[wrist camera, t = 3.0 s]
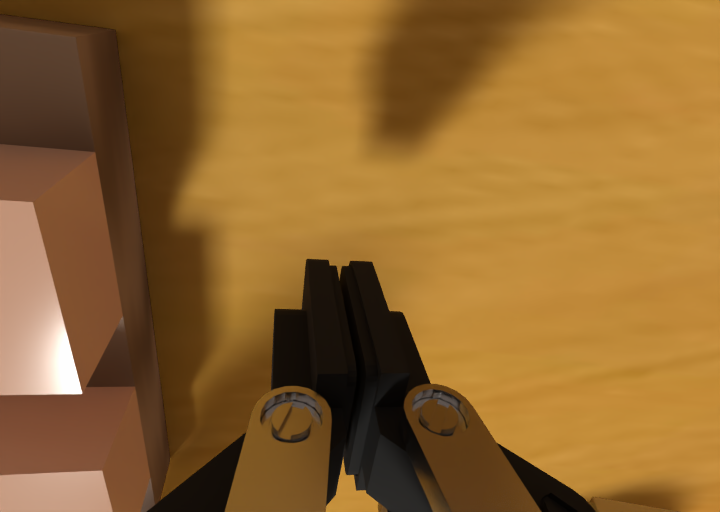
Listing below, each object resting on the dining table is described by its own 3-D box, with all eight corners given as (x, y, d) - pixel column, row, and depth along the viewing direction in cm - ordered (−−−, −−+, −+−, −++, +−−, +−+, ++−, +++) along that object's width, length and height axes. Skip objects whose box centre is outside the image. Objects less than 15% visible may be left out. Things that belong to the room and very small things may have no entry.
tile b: (-39, 388, 13) (-116, 480, 11) (134, 386, 14) (102, 470, 12) (4, 484, 16) (-50, 577, 13) (150, 477, 17) (125, 562, 14)
